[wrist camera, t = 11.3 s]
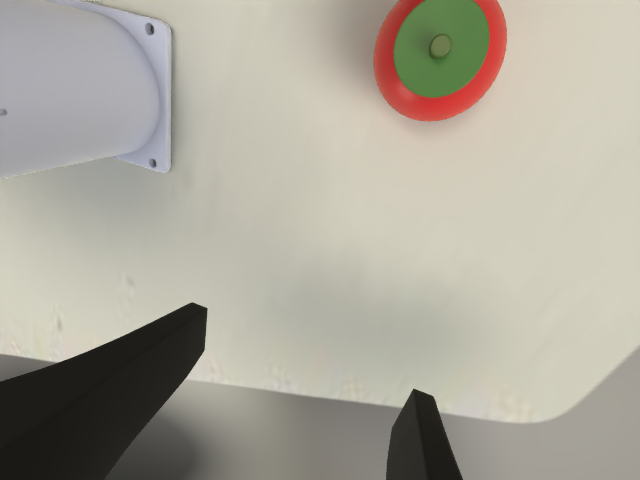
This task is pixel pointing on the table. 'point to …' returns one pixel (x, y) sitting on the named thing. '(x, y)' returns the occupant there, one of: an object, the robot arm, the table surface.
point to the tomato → (439, 55)
